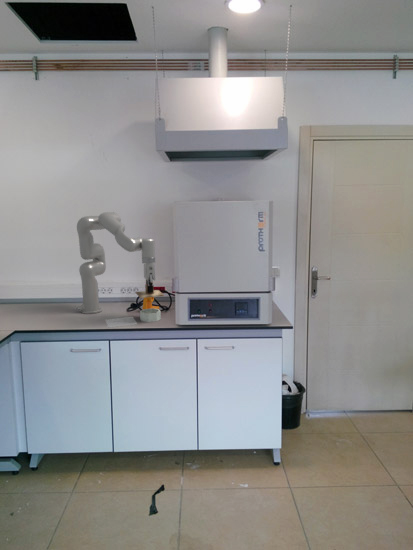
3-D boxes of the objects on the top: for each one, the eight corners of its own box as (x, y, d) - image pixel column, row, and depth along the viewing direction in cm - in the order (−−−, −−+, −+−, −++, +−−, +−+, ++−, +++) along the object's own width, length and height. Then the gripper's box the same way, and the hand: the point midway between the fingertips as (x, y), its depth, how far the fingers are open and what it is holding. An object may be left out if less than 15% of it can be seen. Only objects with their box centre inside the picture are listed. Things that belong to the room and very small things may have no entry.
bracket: (153, 315, 234) (153, 296, 232) (142, 314, 236) (141, 295, 234) (159, 310, 244) (159, 292, 242) (149, 309, 246) (148, 291, 244)
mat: (108, 328, 208) (108, 327, 208) (105, 320, 223) (105, 319, 223) (137, 325, 213) (137, 324, 213) (132, 317, 228) (132, 316, 228)
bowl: (142, 323, 217) (142, 314, 216) (139, 318, 227) (138, 309, 226) (162, 321, 221) (161, 312, 220) (157, 316, 231) (157, 307, 230)
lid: (140, 298, 213) (139, 287, 212) (135, 293, 225) (135, 283, 224) (163, 296, 217) (163, 286, 216) (158, 291, 230) (158, 281, 229)
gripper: (158, 261, 211) (159, 294, 215) (151, 258, 227) (152, 288, 230) (145, 262, 209) (146, 295, 212) (139, 258, 224) (140, 289, 227)
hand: (149, 291), depth 221 cm, fingers closed on lid, 4 cm apart
